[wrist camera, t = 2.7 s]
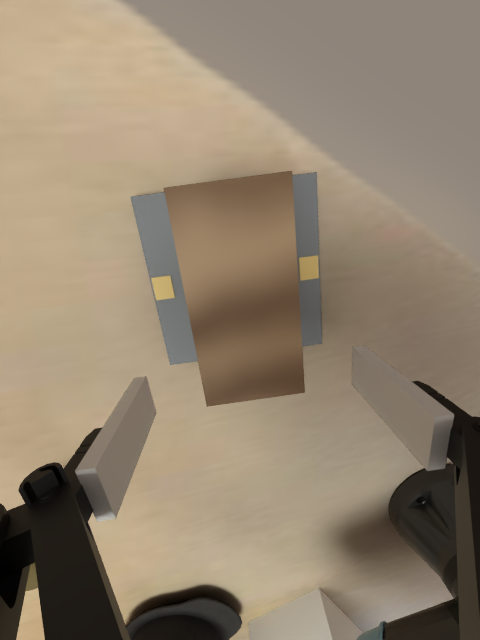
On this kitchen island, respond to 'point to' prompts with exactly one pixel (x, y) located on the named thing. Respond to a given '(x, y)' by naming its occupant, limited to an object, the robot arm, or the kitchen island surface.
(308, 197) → the lock plate
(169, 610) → the casserole
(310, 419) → the kitchen island surface
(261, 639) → the milk carton
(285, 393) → the wooden block on stand
